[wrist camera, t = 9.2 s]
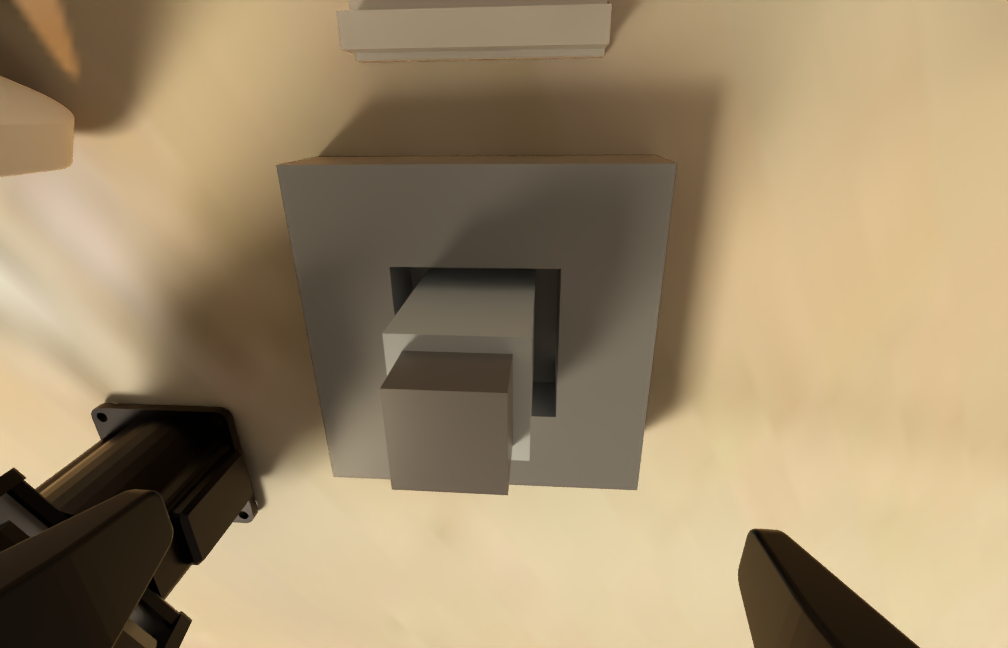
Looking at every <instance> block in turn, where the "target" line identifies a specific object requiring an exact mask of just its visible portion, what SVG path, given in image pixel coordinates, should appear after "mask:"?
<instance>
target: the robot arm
mask: <svg viewBox="0 0 1008 648" xmlns="http://www.w3.org/2000/svg"><path fill="white" fill-rule="evenodd" d="M91 415H92V419H93V421H94V424H95V426H96V429H97V431H98V434H99V436H100V439H101V440H100V441H99V442H98V443H96V444H95V445H94V446H92V447H91V448H90V449H88V450H87V451H86V452H84V453H83V454H82V455H80V456H79V457H78V458H76V459H75V460H74V461H72V462H71V463H70V464H68V465H67V466H66V467H64V468H63V469H62V470H60V471H59V472H58V473H56V474H55V475H54V476H52V477H51V478H49V479H48V480H47V481H45V482H44V483H43V484H41V485H40V486H39V487H37V488H36V489H34V488H33V487H31V486H30V485H29V484H28V483H27V482H26V481H24V479H26V477H25V476H24V475H22V474H21V473H20V472H19V471H18V470H17V469H15V468H12V469H11V470H9V471H8V472H6V473H5V474H3V475H2V476H0V648H179V647H180V645H181V643H182V641H183V639H184V636H185V634H186V632H187V630H188V628H189V626H190V624H191V622H192V619H190V618H189V617H188V616H187V615H186V614H185V613H183V612H182V611H181V612H178V611H177V610H175V609H174V608H173V607H172V606H171V605H170V604H168V603H167V602H166V601H165V599H166V597H167V596H168V595H169V593H170V592H171V591H172V590H173V588H174V587H175V586H176V584H177V583H178V582H179V581H180V579H181V578H182V577H183V575H184V574H185V573H186V571H187V570H188V569H189V568H190V566H191V565H199V564H200V563H201V562H202V561H203V560H204V559H205V558H206V557H207V555H208V554H209V553H210V551H211V550H212V549H213V547H214V546H215V545H216V543H217V542H218V541H219V539H220V538H221V537H222V536H223V534H224V533H225V532H226V530H227V529H228V528H229V526H230V525H231V524H232V522H238V523H249V522H251V521H252V520H253V519H254V517H255V516H256V514H257V513H258V510H257V506H256V502H255V498H254V495H253V490H252V486H251V483H250V479H249V475H248V472H247V468H246V464H245V460H244V457H243V454H242V450H241V446H240V443H239V439H238V435H237V431H236V428H235V424H234V420H233V417H232V415H231V413H230V412H229V411H228V410H227V409H225V408H221V407H201V406H171V405H142V404H112V403H104V404H101V405H99V406H98V407H96V408H95V409H94V410H92V413H91ZM217 417H219V418H220V419H221V420H222V421H221V420H219V419H218V418H217ZM738 581H739V587H740V591H741V595H742V599H743V603H744V607H745V611H746V616H747V620H748V624H749V628H750V632H751V636H752V640H753V644H754V648H920V647H919V646H917V645H916V644H915V643H914V642H913V641H911V640H910V639H909V638H908V637H907V636H906V635H904V634H903V633H902V632H901V631H900V630H899V629H897V628H896V627H895V626H894V625H893V624H891V623H890V622H889V621H888V620H887V619H886V618H884V617H883V616H882V615H881V614H880V613H878V612H877V611H876V610H875V609H874V608H873V607H871V606H870V605H869V604H868V603H867V602H866V601H864V600H863V599H862V598H861V597H860V596H858V595H857V594H856V593H855V592H854V591H853V590H851V589H850V588H849V587H848V586H847V585H845V584H844V583H843V582H842V581H841V580H840V579H838V578H837V577H836V576H835V575H834V574H833V573H831V572H830V571H829V570H828V569H827V568H825V567H824V566H823V565H822V564H821V563H820V562H818V561H817V560H816V559H815V558H814V557H812V556H811V555H810V554H809V553H808V552H807V551H805V550H804V549H803V548H802V547H801V546H800V545H798V544H797V543H796V542H795V541H794V540H792V539H791V538H790V537H789V536H788V535H786V534H785V533H783V532H782V531H779V530H770V529H752V530H750V532H749V533H748V535H747V538H746V542H745V546H744V550H743V553H742V557H741V561H740V565H739V569H738Z"/></svg>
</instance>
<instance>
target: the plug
mask: <svg viewBox="0 0 1008 648" xmlns="http://www.w3.org/2000/svg"><path fill="white" fill-rule="evenodd" d="M535 275H536V270H518V269H460V268H429V270H428V271H427V272H426V274H425V275H424V277H423V278H422V279H421V281H420V282H419V283H418V285H417V286H416V288H415V289H414V290H413V292H412V293H411V295H410V296H409V297H408V299H407V300H406V301H405V303H404V304H403V306H402V307H401V308H400V310H399V311H398V312H397V314H396V315H395V317H394V318H393V319H392V321H391V322H390V323H389V325H388V326H387V328H386V329H385V330H384V332H383V333H382V335H383V344H384V353H385V362H386V371H387V377H386V379H385V381H384V382H383V384H382V386H381V387H380V395H381V403H382V411H383V419H384V428H385V436H386V444H387V453H388V461H389V469H390V478H391V486H392V489H394V490H415V491H435V492H455V493H475V494H495V495H508V488H509V478H510V467H511V460H521V461H529V460H530V437H531V414H532V391H533V368H534V323H535Z"/></svg>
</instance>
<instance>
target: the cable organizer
mask: <svg viewBox="0 0 1008 648" xmlns="http://www.w3.org/2000/svg"><path fill="white" fill-rule="evenodd" d="M73 141H74V116H73V114H72V113H71V112H70V111H69V110H68V109H67V108H66V107H65V106H63V105H62V104H60V103H58V102H57V101H55V100H53V99H52V98H50V97H48V96H46V95H44V94H42V93H40V92H38V91H35V90H33V89H31V88H28V87H26V86H24V85H21V84H19V83H17V82H14V81H12V80H9V79H7V78H5V77H2V76H0V177H7V176H15V175H23V174H31V173H39V172H46V171H54V170H60V169H65V168H67V167H69V166H70V165H71V164H72V161H73Z"/></svg>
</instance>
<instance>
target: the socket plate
mask: <svg viewBox="0 0 1008 648" xmlns="http://www.w3.org/2000/svg"><path fill="white" fill-rule="evenodd" d="M276 166H277V172H278V177H279V183H280V188H281V194H282V199H283V204H284V210H285V215H286V221H287V226H288V232H289V237H290V243H291V248H292V253H293V259H294V264H295V270H296V275H297V281H298V286H299V291H300V297H301V302H302V308H303V313H304V319H305V324H306V330H307V335H308V340H309V346H310V351H311V357H312V362H313V368H314V373H315V379H316V384H317V389H318V395H319V400H320V406H321V411H322V417H323V422H324V427H325V433H326V438H327V444H328V449H329V455H330V460H331V466H332V471H333V476H334V477H348V478H371V479H391V478H390V469H389V461H388V453H387V444H386V436H385V428H384V419H383V411H382V403H381V395H380V387H381V386H382V384H383V382H384V381H385V379H386V377H387V371H386V362H385V353H384V344H383V335H382V333H383V332H384V330H385V329H386V328H387V326H388V325H389V323H390V322H391V321H392V319H393V318H394V317H395V315H396V314H397V312H398V311H399V310H400V308H401V307H402V306H403V304H404V303H405V301H406V300H407V299H408V297H409V296H410V295H411V293H412V292H413V290H414V289H415V288H416V286H417V285H418V283H419V282H420V281H421V279H422V278H423V277H424V275H425V274H426V272H427V271H428V270H429V268H460V269H518V270H536V275H535V323H534V368H533V391H532V414H531V437H530V460H529V461H521V460H511V467H510V478H509V485H531V486H553V487H576V488H599V489H622V490H637V486H638V478H639V470H640V461H641V453H642V445H643V437H644V428H645V420H646V412H647V404H648V396H649V387H650V379H651V371H652V363H653V355H654V346H655V338H656V330H657V322H658V313H659V305H660V297H661V289H662V281H663V272H664V264H665V256H666V248H667V239H668V231H669V223H670V215H671V207H672V198H673V190H674V182H675V174H676V166H677V164H676V163H674V162H672V161H669V160H667V159H664V158H662V157H659V156H657V155H533V156H318V157H312V158H308V159H303V160H298V161H293V162H288V163H283V164H279V165H276Z"/></svg>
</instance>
